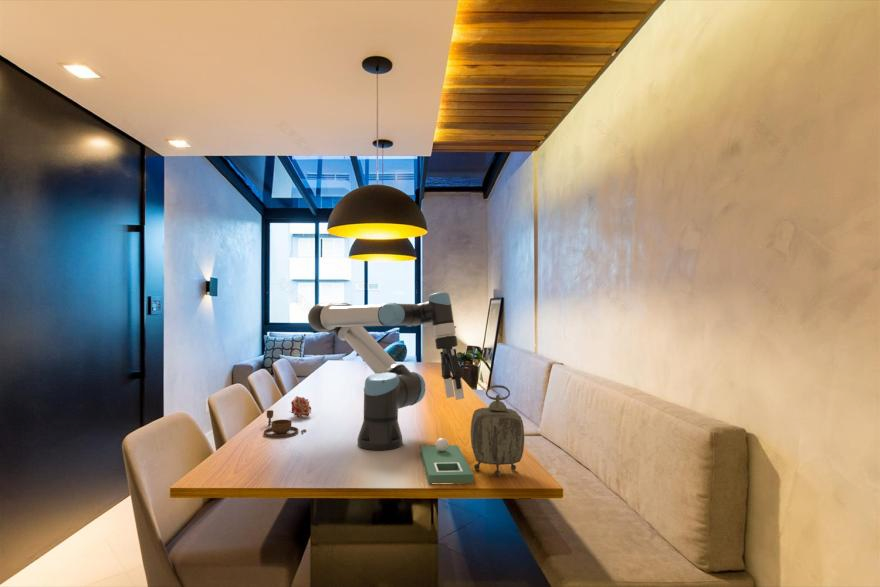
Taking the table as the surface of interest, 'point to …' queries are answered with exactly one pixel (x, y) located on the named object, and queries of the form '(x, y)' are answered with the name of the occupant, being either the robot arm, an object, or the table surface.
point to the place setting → (280, 427)
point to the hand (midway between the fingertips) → (455, 398)
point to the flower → (300, 407)
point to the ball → (441, 444)
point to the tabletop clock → (497, 434)
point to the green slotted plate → (445, 465)
